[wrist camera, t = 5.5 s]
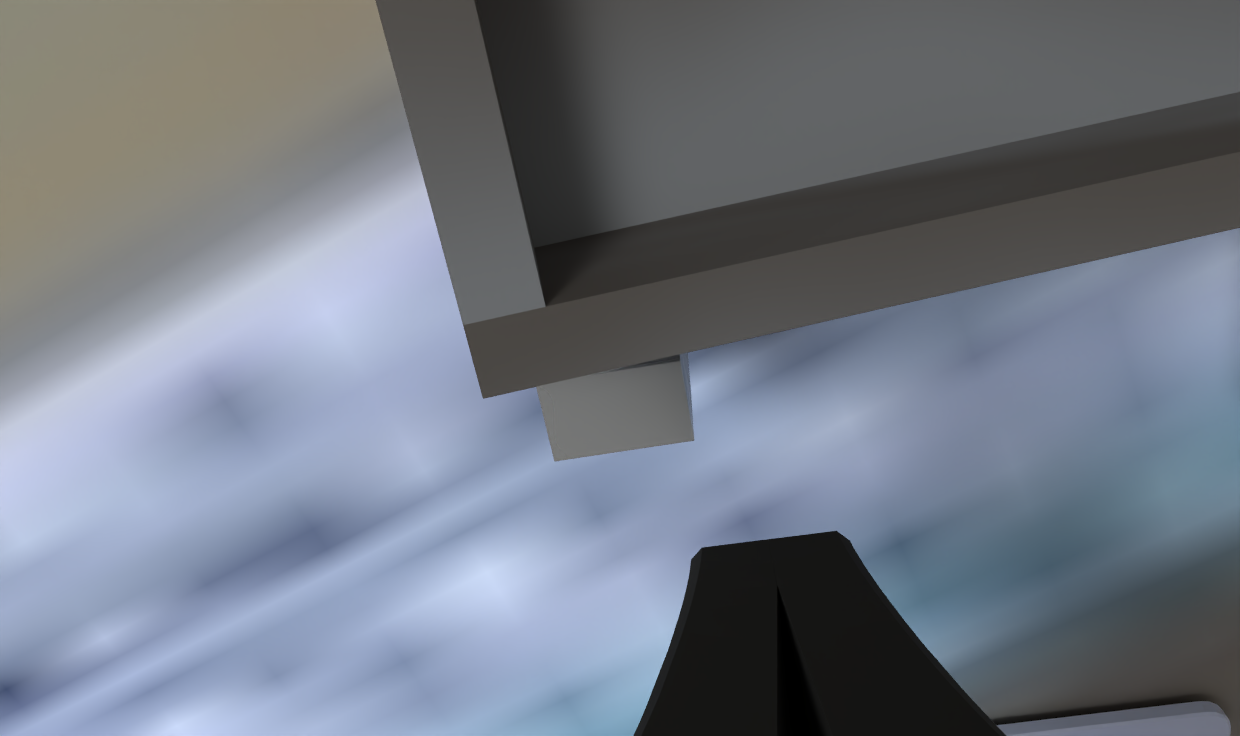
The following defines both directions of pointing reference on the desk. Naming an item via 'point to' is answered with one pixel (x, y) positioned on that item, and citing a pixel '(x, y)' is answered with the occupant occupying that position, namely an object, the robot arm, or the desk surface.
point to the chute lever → (795, 158)
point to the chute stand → (619, 409)
